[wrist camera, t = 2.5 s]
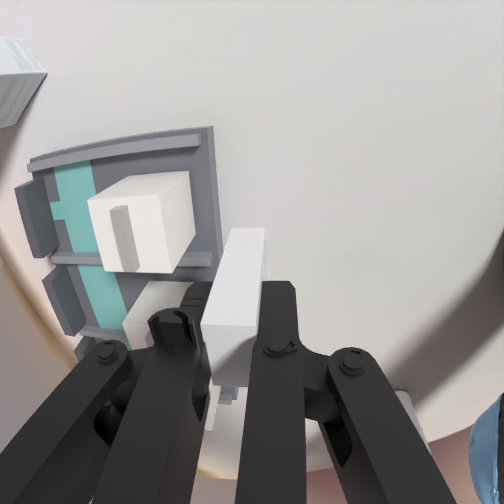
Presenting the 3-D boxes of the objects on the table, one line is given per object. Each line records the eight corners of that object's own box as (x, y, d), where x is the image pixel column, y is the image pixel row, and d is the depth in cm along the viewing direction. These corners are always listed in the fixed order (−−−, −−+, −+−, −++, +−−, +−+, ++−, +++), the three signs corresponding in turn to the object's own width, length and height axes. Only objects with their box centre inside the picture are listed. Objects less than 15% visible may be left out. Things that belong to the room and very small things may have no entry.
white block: (188, 170, 21) (153, 198, 15) (195, 233, 24) (167, 280, 18) (128, 176, 22) (80, 204, 16) (139, 234, 24) (99, 277, 18)
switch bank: (213, 126, 22) (196, 131, 18) (238, 387, 36) (233, 419, 31) (42, 154, 24) (8, 167, 19) (113, 372, 37) (99, 398, 33)
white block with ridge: (202, 282, 26) (181, 336, 20) (209, 327, 28) (193, 382, 22) (149, 280, 26) (117, 330, 20) (160, 323, 28) (136, 374, 22)
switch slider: (215, 359, 30) (202, 412, 24) (220, 387, 32) (210, 437, 26) (169, 355, 30) (150, 405, 24) (179, 383, 33) (164, 430, 27)
